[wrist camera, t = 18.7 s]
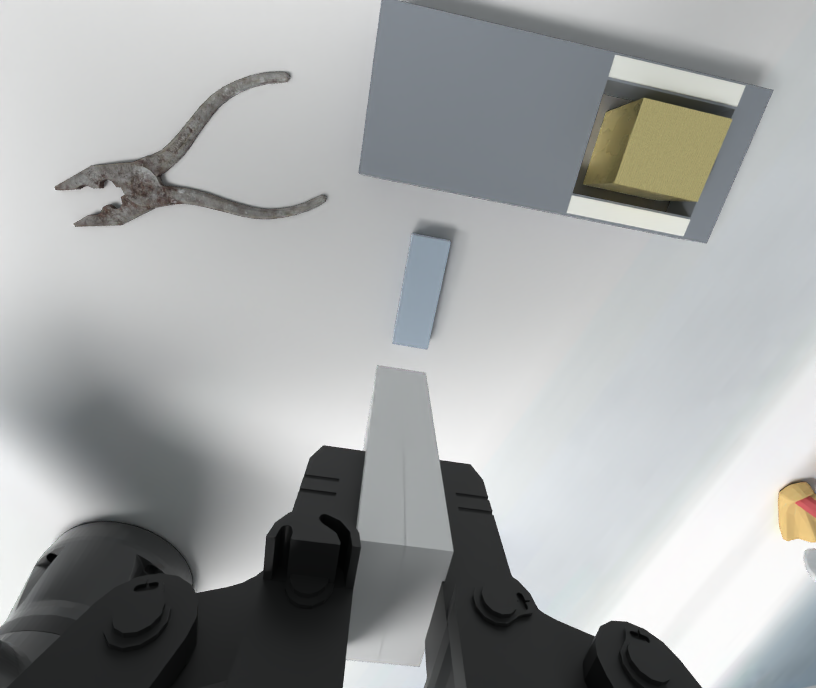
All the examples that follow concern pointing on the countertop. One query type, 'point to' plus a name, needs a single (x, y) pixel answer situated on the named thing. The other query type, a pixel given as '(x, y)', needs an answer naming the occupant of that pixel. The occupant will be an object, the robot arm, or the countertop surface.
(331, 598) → the robot arm
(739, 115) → the rail board
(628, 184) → the block
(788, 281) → the countertop surface
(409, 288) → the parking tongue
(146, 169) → the pliers
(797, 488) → the toy
